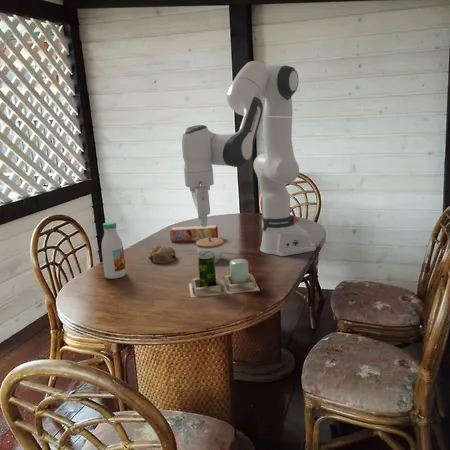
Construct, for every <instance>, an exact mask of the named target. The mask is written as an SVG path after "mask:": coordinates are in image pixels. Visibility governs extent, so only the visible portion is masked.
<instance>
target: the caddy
mask: <svg viewBox="0 0 450 450" xmlns="http://www.w3.org/2000/svg"><path fill="white" fill-rule="evenodd" d="M188 287H189V293H190V294H189V295H190V298H198V297H199V298H200V297H208V296H218V295H229V294H238V293H249V292H250V293H251V292H257V291H260V290H261V289H260V288H259V286H258V284H257V282H256V279H255V277H254V276H253V274H252V273H249V283H239V284H231V279H230V274H228V275H227V274H226V275H225V276H224V277H223V279H221V278H220V277H218V276H216V286H209V287H200V280H199V277H197V278H192V279H191V280H190V282H189V283H188Z"/></svg>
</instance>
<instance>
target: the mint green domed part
mask: <svg viewBox="0 0 450 450" xmlns="http://www.w3.org/2000/svg"><path fill="white" fill-rule="evenodd" d="M229 275H230V279H231V284H239V283H249V261H248V260H247V259H244V258H235V259H231V260H229Z"/></svg>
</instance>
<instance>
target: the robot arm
mask: <svg viewBox="0 0 450 450" xmlns="http://www.w3.org/2000/svg"><path fill="white" fill-rule="evenodd" d="M298 87H299V73H298V72H297V70H296V69H295V67H293V66H289V65H285V64H284V65H264V64H263V63H262V62H260V61H256V60H255V61H254V60H252V61H248V62H247V63H246V64H244V66H242V68H241V69H240V70H239V72H238V73H237V74H236V76H235V77H234V79H233V80H232V83H231V84H230V86H229V88H228V91H227V94H226V99H227V103H228V106H229V107H230V108H231V109H232V111H233V112H234V113H236V114H237V115H240V116H242V117H243V118H242V120H241V122H240V123H241V124H240V127H239V128H238V129H239V130H238V131H237V132H235V133H231V134H218V133H214V132H213V131H211V130H209V128H208V126H206V125H203V124H198V125H194V126H192V125H191V126H189V127H187V128H185V129H184V130H183V131H182V132H183V133H182V137H181V138H182V139H181V147H182V150H181V151H182V160H183V161H184V169H183V173H184V174H183V175H184V183H185V187H186V188H189V191H190V192H191V198H192V201H193V204H194V206H195V210H196V212H197V215H198V220H200V226H202V227H206V226H208V215H209V216H210V215H211V207H210V205H211V204H210V195H209V191H210V190H211V186H213V185H214V184H215V181H214V171H213V170H214V169H213V165H214V166H225V167H226V166H227V167H228V166H229V167H233V168H234V167H235V168H243V167H245V166H246V165H247V164H248V163H249V162H250V160H251V159H252V156H253V150H254V145H255V144H254V143H255V140H256V137H257V134H258V129H259V127H260V123H261V120H262V121H263V122H262V140H263V141H264V144H265V148H266V152H264V153H263V152H262V153H260V154H258V155H256V157H255V159H254V161H253V170H254V172H255V174H256V177H257V181H258V186H259V188H260V189H259V190H260V193H261V201H262V202H261V203H262V207H261V208H262V215H261V229H262V237H261V243H260V247H259V250H260V252H262V253H264V254H269V255H276V256H280V257H284V256H291V255H297V254H298V255H299V254H303V253H304V254H305V253H311V252H315V251H316V250H317V246H316V244H315V243H314V242H312V241H311V239H310V235H309V233H308V232H307V231H306V230H305V229H303V228H302V227H301V226H300V225H298V224H296V223H298V222H299V218H298V217H297V216H294V215H293V214H291V195H290V193H289V192H288V189H287V185H286V184H289V183H293V182H294V181H295V180H297V178H298V176H299V174H300V165H299V164H298V161H297V159H296V157H295V153H294V147H293V141H292V140H293V139H292V137H293V136H292V133H293V132H292V131H293V99H292V97H293V96H294V95H295V93H296V91H297V89H298ZM262 98H263V99H265V100H264V101H265V102H264V105H263V102H262V100H261V99H262ZM262 116H263V117H262ZM262 118H263V119H262Z"/></svg>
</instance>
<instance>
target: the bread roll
mask: <svg viewBox="0 0 450 450" xmlns="http://www.w3.org/2000/svg"><path fill="white" fill-rule="evenodd" d="M176 255H177V254H176V250H175V249H174V248H173V246H170V245H169V244H159V245H157V246H155V247H154V248H153V249H152V250H151V251H150V252H149V255H148V259H149V260H150V261H151V262H152V263H154V264H158V263H160V264H168V262H169V263H170V262H171V263H172V261H173V262H174V261H175V259H176Z"/></svg>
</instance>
